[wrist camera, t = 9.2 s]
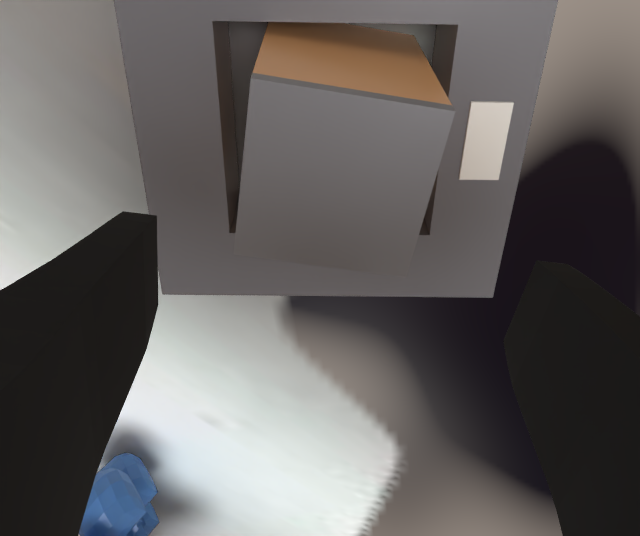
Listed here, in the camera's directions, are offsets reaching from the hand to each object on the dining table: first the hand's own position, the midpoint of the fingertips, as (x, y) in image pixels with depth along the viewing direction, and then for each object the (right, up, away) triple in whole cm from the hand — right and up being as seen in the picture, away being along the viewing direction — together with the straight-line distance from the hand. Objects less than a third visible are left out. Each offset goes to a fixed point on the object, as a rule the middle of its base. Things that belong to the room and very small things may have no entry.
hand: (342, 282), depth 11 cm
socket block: (0, +6, +9) cm, 10 cm away
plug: (0, +6, +8) cm, 11 cm away
